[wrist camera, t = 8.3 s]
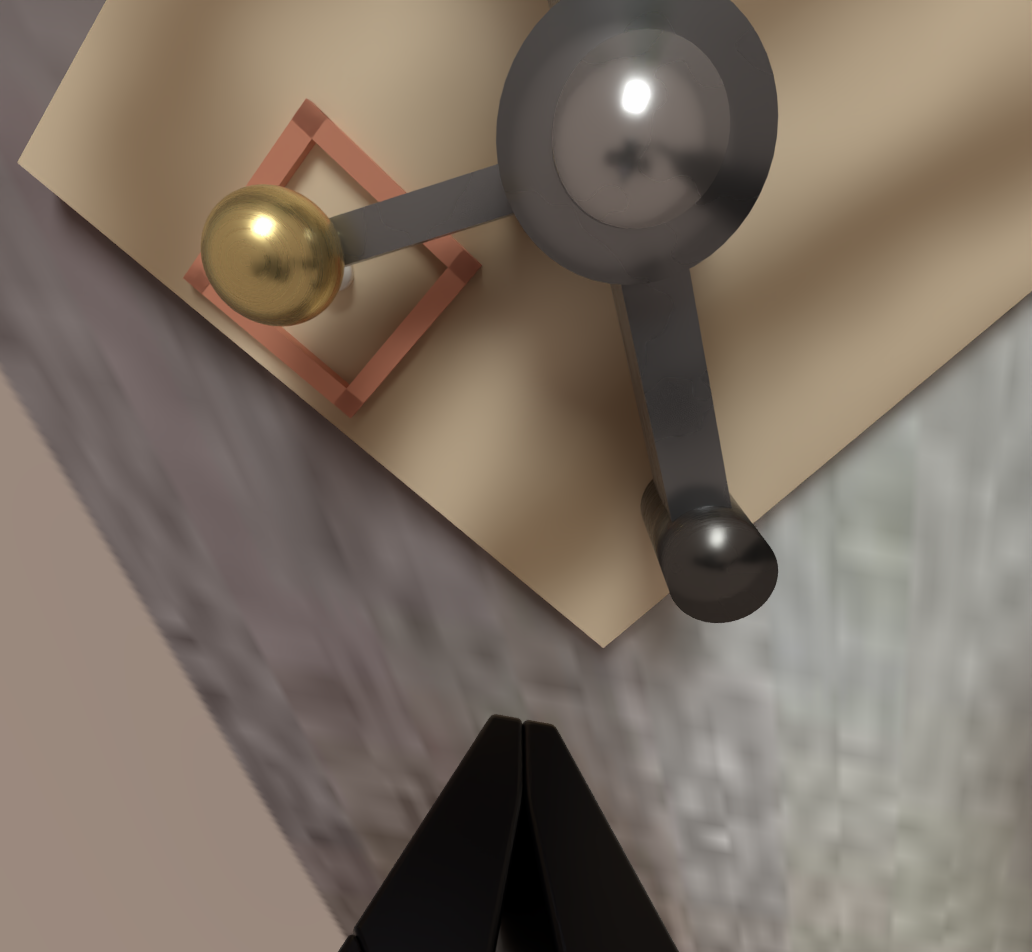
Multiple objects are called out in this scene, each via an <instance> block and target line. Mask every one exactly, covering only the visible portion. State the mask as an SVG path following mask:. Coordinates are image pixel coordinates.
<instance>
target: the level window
mask: <svg viewBox="0 0 1032 952" xmlns="http://www.w3.org/2000/svg"><path fill="white" fill-rule="evenodd" d="M316 143H317V144H318V145H319V146H320V147H321V148H322V149H323V150H324V151H325V152H326V153H327V154H328V155H330V156H331V157H332V158H333V159H334V160H335V161H336V162H337V163H338V164H339V165H340V166H341V167H342V168H343V169H344V170H345V171H346V172H348V173H349V174H350V175H351V176H352V177H353V178H354V179H355V180H356V181H357V182H358V183H359V184H360V185H361V186H362V187H363V188H364V189H366V190H367V191H368V192H369V193H370V194H371V195H372V196H373V197H374V198H375V199H376V200H377V201H378V202H381V201H384V200H387V199H390V198H393V197H396V196H399V195H402V194H406V193H407V192H406V191H405V190H404V189H402V188H401V187H400V186H399V185H398V184H397V183H396V182H395V181H394V180H393V179H392V178H391V177H390V176H389V175H388V174H387V173H386V172H385V171H384V170H383V169H382V168H381V167H380V166H379V165H378V164H376V163H375V162H374V161H373V160H372V159H371V158H370V157H369V156H368V155H367V154H366V153H365V152H364V151H363V150H362V149H361V148H360V147H359V146H358V145H357V144H356V143H355V142H354V141H353V140H352V139H350V138H349V137H348V136H347V135H346V134H345V133H344V132H343V131H342V130H341V129H340V128H339V127H338V126H337V125H336V124H335V123H334V122H333V121H332V120H331V119H330V118H329V117H328V116H327V115H326V114H324V113H323V112H322V111H321V110H320V109H319V108H318V107H317V106H316V105H315V104H314V103H313V102H312V101H310V100H309V99H307V98H306V99H305V100H304V102H303V103H302V105H301V106H300V108H299V109H298V111H297V112H296V113H295V115H294V116H293V118H292V119H291V121H290V122H289V124H288V125H287V127H286V128H285V130H284V131H283V132H282V134H281V135H280V137H279V138H278V140H277V141H276V143H275V144H274V146H273V147H272V148H271V150H270V151H269V153H268V154H267V156H266V157H265V159H264V160H263V162H262V163H261V165H260V166H259V167H258V169H257V170H256V172H255V173H254V175H253V176H252V178H251V179H250V181H249V182H248V184H247V185H246V186H250V185H258V184H268V185H277V186H282V187H285V186H286V185H287V183H288V182H289V180H290V179H291V178H292V176H293V175H294V173H295V172H296V171H297V169H298V168H299V166H300V165H301V163H302V162H303V161H304V159H305V158H306V156H307V155H308V154H309V152H310V151H311V149H312V148H313V147H314V145H315V144H316ZM246 186H245V187H246ZM423 244H424V245H425V246H426V247H427V248H428V249H429V250H430V251H431V252H432V253H433V254H434V255H435V256H436V257H437V258H438V259H440V260H441V261H442V262H443V263H444V264H445V265H446V266H447V267H448V268H447V269H446V270H445V271H444V273H443V274H442V275H441V276H440V277H439V279H438V280H437V281H436V282H435V283H434V284H433V286H432V287H431V288H430V289H429V290H428V292H427V293H426V294H425V295H424V296H423V298H422V299H421V300H420V301H419V302H418V304H417V305H416V306H415V307H414V308H413V310H412V311H411V312H410V313H409V314H408V316H407V317H406V318H405V319H404V320H403V322H402V323H401V324H400V325H399V326H398V327H397V329H396V330H395V331H394V332H393V333H392V335H391V336H390V337H389V338H388V339H387V341H386V342H385V343H384V344H383V345H382V347H381V348H380V349H379V350H378V351H377V353H376V354H375V355H374V356H373V357H372V359H371V360H370V361H369V362H368V363H367V364H366V366H365V367H364V368H363V369H362V370H361V372H360V373H359V374H358V375H357V376H356V378H355V379H354V380H353V381H352V382H351V384H350V385H349V384H348V383H347V382H346V381H345V380H344V379H342V378H341V377H340V376H339V375H338V374H337V373H335V372H334V371H333V370H332V369H331V368H330V367H328V366H327V365H326V364H325V363H324V362H323V361H321V360H320V359H319V358H318V357H317V356H315V355H314V354H313V353H312V352H311V351H310V350H308V349H307V348H306V347H305V346H304V345H303V344H301V343H300V342H299V341H298V340H297V339H296V338H294V337H293V336H292V335H291V334H290V333H288V332H287V331H286V330H285V329H284V328H283V327H279V326H270V325H264V324H260V323H257V322H254V321H252V320H249V319H247V318H245V317H243V316H242V315H240V314H239V313H237V312H235V311H234V310H233V309H231V308H230V307H229V306H228V305H227V304H226V303H225V302H224V301H223V300H222V299H221V298H220V297H219V296H218V294H217V293H216V292H215V290H214V289H213V287H212V286H211V284H210V282H209V280H208V278H207V276H206V273H205V270H204V267H203V263H202V259H201V252H200V254H199V255H198V256H197V258H196V259H195V261H194V262H193V264H192V265H191V267H190V268H189V270H188V271H187V273H186V274H185V275H184V277H183V279H185V280H186V281H187V282H188V283H189V284H191V285H192V286H193V287H194V288H195V289H196V290H198V291H199V292H200V293H201V294H202V295H204V296H205V297H206V298H207V299H208V300H210V301H211V302H212V303H213V304H214V305H216V306H217V307H218V308H219V309H220V310H222V311H223V312H224V313H225V314H226V315H228V316H229V317H230V318H231V319H232V320H234V321H235V322H236V323H237V324H238V325H239V326H241V327H242V328H243V329H244V330H245V331H247V332H248V333H249V334H250V335H251V336H253V337H254V338H255V339H256V340H257V341H259V342H260V343H261V344H262V345H263V346H265V347H266V348H267V349H268V350H269V351H271V352H272V353H273V354H274V355H275V356H276V357H278V358H279V359H280V360H281V361H282V362H284V363H285V364H286V365H287V366H288V367H290V368H291V369H292V370H293V371H294V372H296V373H297V374H298V375H299V376H300V377H302V378H303V379H304V380H305V381H306V382H308V383H309V384H310V385H311V386H312V387H313V388H315V389H316V390H317V391H318V392H319V393H321V394H322V395H323V396H324V397H325V398H327V399H328V400H329V401H330V402H331V403H333V404H334V405H335V406H336V407H337V408H339V409H340V410H341V411H342V412H343V413H345V414H346V415H347V416H348V417H349V418H352V417H353V416H354V415H355V413H356V412H357V411H358V410H359V409H360V408H361V406H362V405H363V404H364V403H365V402H366V401H367V399H368V398H369V397H370V396H371V395H372V394H373V392H374V391H375V390H376V389H377V388H378V387H379V385H380V384H381V383H382V382H383V381H384V380H385V378H386V377H387V376H388V375H389V374H390V373H391V371H392V370H393V369H394V368H395V367H396V366H397V364H398V363H399V362H400V361H401V360H402V359H403V357H404V356H405V355H406V354H407V353H408V352H409V350H410V349H411V348H412V347H413V346H414V345H415V343H416V342H417V341H418V340H419V339H420V338H421V336H422V335H423V334H424V333H425V332H426V331H427V329H428V328H429V327H430V326H431V325H432V324H433V322H434V321H435V320H436V319H437V318H438V317H439V315H440V314H441V313H442V312H443V311H444V310H445V308H446V307H447V306H448V305H449V304H450V303H451V301H452V300H453V299H454V298H455V297H456V296H457V294H458V293H459V292H460V291H461V290H462V289H463V287H464V286H465V285H466V284H467V283H468V282H469V280H470V279H471V278H472V277H473V276H474V275H475V273H476V272H477V271H478V270H479V269H480V268H481V266H482V264H480V263H479V262H478V261H477V260H476V259H475V258H474V257H473V256H472V255H471V254H470V253H469V252H468V251H467V250H466V249H465V248H464V247H463V246H462V245H461V244H460V243H459V242H458V241H457V240H456V239H454V238H453V237H452V236H451V235H448V236H445V237H442V238H438V239H435V240H432V241H429V242H425V243H423ZM353 277H354V269H353V265H351V266H347V267H344V276H343V280H342V284H341V287H340V289H339V291H341V290H344V289H346V288H347V287H349V285H350V284H351V283H352V281H353Z"/></svg>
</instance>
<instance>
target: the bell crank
mask: <svg viewBox="0 0 1032 952" xmlns="http://www.w3.org/2000/svg"><path fill="white" fill-rule="evenodd" d="M548 4H549V9H550V10H549V11H548V12H547V13H546V14H545V15H544V16H543V17H542V18H541V20H540V21H539V22H538V23H537V24H536V25H535V27H534V28H533V29H532V31H531V32H530V33H529V35H528V36H527V38H526V39H525V40H524V42H523V44H522V46H521V47H520V49H519V51H518V53H517V55H516V57H515V58H514V60H513V63H512V65H511V68H510V70H509V72H508V75H507V77H506V80H505V83H504V87H503V91H502V94H501V98H500V103H499V109H498V116H497V125H496V150H497V162H498V164H496V165H493V166H490V167H487V168H484V169H480V170H477V171H474V172H471V173H468V174H465V175H462V176H459V177H455V178H452V179H449V180H446V181H443V182H440V183H437V184H434V185H430V186H427V187H424V188H421V189H418V190H415V191H412V192H409V193H406V194H402V195H399V196H396V197H393V198H390V199H387V200H384V201H381V202H377V203H374V204H371V205H368V206H365V207H362V208H359V209H356V210H352V211H349V212H346V213H343V214H340V215H337V216H334V217H331V218H328V216H327V215H326V214H325V213H324V212H323V211H322V210H321V208H320V207H318V206H317V205H316V204H315V203H314V202H313V201H311V200H310V199H308V198H307V197H305V196H304V195H302V194H300V193H298V192H296V191H294V190H291V189H288V188H285V187H282V186H277V185H268V184H258V185H250V186H246V187H243V188H240V189H238V190H235V191H233V192H231V193H230V194H228V195H227V196H225V197H224V198H223V199H222V200H220V201H219V202H218V203H217V204H216V206H215V207H214V208H213V209H212V210H211V212H210V214H209V215H208V217H207V219H206V222H205V224H204V227H203V231H202V236H201V259H202V263H203V267H204V270H205V273H206V276H207V278H208V280H209V282H210V284H211V286H212V287H213V289H214V290H215V292H216V293H217V294H218V296H219V297H220V298H221V299H222V300H223V301H224V302H225V303H226V304H227V305H228V306H229V307H230V308H231V309H233V310H234V311H235V312H237V313H239V314H240V315H242V316H243V317H245V318H247V319H249V320H252V321H254V322H257V323H260V324H264V325H270V326H279V327H284V326H293V325H298V324H302V323H304V322H307V321H309V320H311V319H313V318H315V317H316V316H318V315H319V314H321V313H322V312H323V311H325V310H326V308H327V307H328V306H329V305H330V304H331V303H332V301H333V300H334V299H335V297H336V295H337V293H338V291H339V289H340V287H341V284H342V280H343V276H344V267H347V266H351V265H354V264H357V263H360V262H364V261H367V260H370V259H373V258H377V257H380V256H383V255H386V254H390V253H393V252H396V251H399V250H403V249H406V248H409V247H412V246H416V245H419V244H422V243H425V242H429V241H432V240H435V239H438V238H442V237H445V236H448V235H451V234H454V233H458V232H461V231H464V230H467V229H471V228H474V227H477V226H480V225H484V224H487V223H490V222H493V221H497V220H500V219H503V218H506V217H510V216H513V215H515V217H516V218H517V220H518V222H519V223H520V225H521V226H522V228H523V229H524V231H525V232H526V234H527V235H528V236H529V237H530V238H531V240H532V241H533V242H534V243H535V244H536V246H537V247H538V248H540V249H541V250H542V251H543V252H544V253H545V254H546V255H547V256H548V257H549V258H551V259H552V260H554V261H555V262H557V263H558V264H559V265H561V266H562V267H564V268H566V269H568V270H570V271H572V272H574V273H575V274H577V275H580V276H583V277H585V278H588V279H591V280H594V281H599V282H604V283H609V284H610V285H611V290H612V295H613V299H614V304H615V308H616V313H617V317H618V322H619V326H620V331H621V335H622V340H623V344H624V349H625V353H626V358H627V363H628V367H629V372H630V376H631V381H632V385H633V390H634V394H635V399H636V403H637V408H638V412H639V417H640V422H641V426H642V431H643V435H644V440H645V444H646V449H647V453H648V458H649V462H650V467H651V471H652V476H653V479H652V480H651V481H650V482H649V484H648V485H647V487H646V488H645V490H644V492H643V495H642V498H641V515H642V518H643V521H644V524H645V527H646V529H647V532H648V535H649V538H650V540H651V543H652V546H653V548H654V551H655V554H656V557H657V559H658V562H659V565H660V567H661V570H662V573H663V576H664V578H665V581H666V584H667V587H668V589H669V592H670V595H671V597H672V599H673V601H674V602H675V603H676V605H677V606H678V607H679V608H680V609H681V610H682V611H683V612H684V613H686V614H687V615H689V616H691V617H693V618H695V619H697V620H701V621H704V622H710V623H725V622H731V621H735V620H738V619H741V618H744V617H746V616H748V615H750V614H751V613H753V612H754V611H756V610H757V609H758V608H760V607H761V606H762V605H763V604H764V603H765V602H766V601H767V599H768V598H769V597H770V595H771V594H772V592H773V590H774V588H775V585H776V582H777V577H778V564H777V560H776V557H775V555H774V552H773V551H772V549H771V548H770V546H769V545H768V544H767V542H766V541H765V540H764V538H763V537H762V536H761V534H760V533H759V531H758V530H757V529H756V527H755V526H754V525H753V523H752V522H751V521H750V519H749V518H748V517H747V515H746V514H745V513H744V511H743V510H742V509H741V507H740V506H739V505H738V503H737V502H736V501H735V499H734V498H733V497H732V495H731V494H730V493H729V490H728V484H727V478H726V473H725V467H724V461H723V456H722V450H721V444H720V439H719V433H718V427H717V422H716V416H715V410H714V405H713V399H712V393H711V388H710V382H709V376H708V371H707V365H706V359H705V354H704V348H703V342H702V337H701V331H700V325H699V320H698V314H697V308H696V303H695V297H694V291H693V286H692V280H691V274H690V268H692V267H694V266H696V265H697V264H699V263H700V262H702V261H703V260H704V259H706V258H707V257H709V256H710V255H712V254H713V253H714V252H715V251H716V250H717V249H719V248H720V247H721V246H722V245H723V244H724V243H725V242H726V241H727V240H728V239H729V238H730V237H731V236H732V235H733V234H734V233H735V232H736V230H737V229H738V228H739V227H740V225H741V224H742V223H743V221H744V220H745V218H746V217H747V216H748V214H749V213H750V211H751V209H752V208H753V206H754V204H755V202H756V201H757V199H758V197H759V195H760V193H761V191H762V188H763V186H764V184H765V181H766V179H767V177H768V173H769V170H770V167H771V163H772V160H773V156H774V151H775V145H776V140H777V130H778V100H777V91H776V85H775V80H774V74H773V71H772V68H771V65H770V61H769V58H768V55H767V53H766V51H765V48H764V46H763V44H762V42H761V40H760V38H759V36H758V34H757V33H756V31H755V30H754V28H753V26H752V25H751V23H750V22H749V20H748V19H747V18H746V16H745V15H744V14H743V13H742V12H741V11H740V10H739V9H738V7H737V6H736V5H735V4H734V3H733V2H732V1H730V0H548Z"/></svg>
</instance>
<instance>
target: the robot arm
mask: <svg viewBox="0 0 1032 952" xmlns="http://www.w3.org/2000/svg"><path fill="white" fill-rule="evenodd" d="M338 952H679V951H678V949H677V948H676V946H675V944H674V942H673V940H672V938H671V937H670V935H669V933H668V931H667V929H666V927H665V926H664V924H663V922H662V920H661V918H660V917H659V915H658V913H657V911H656V909H655V907H654V906H653V904H652V902H651V900H650V898H649V896H648V895H647V893H646V891H645V889H644V887H643V885H642V884H641V882H640V880H639V878H638V876H637V874H636V873H635V871H634V869H633V867H632V865H631V864H630V862H629V860H628V858H627V856H626V854H625V853H624V851H623V849H622V847H621V845H620V843H619V842H618V840H617V838H616V836H615V834H614V832H613V831H612V829H611V827H610V825H609V823H608V821H607V820H606V818H605V816H604V814H603V812H602V811H601V809H600V807H599V805H598V803H597V801H596V800H595V798H594V796H593V794H592V792H591V790H590V789H589V787H588V785H587V783H586V781H585V779H584V778H583V776H582V774H581V772H580V770H579V768H578V767H577V765H576V763H575V761H574V759H573V758H572V756H571V754H570V752H569V750H568V748H567V747H566V745H565V743H564V741H563V739H562V737H561V736H560V734H559V732H558V730H557V729H556V727H555V726H554V725H552V724H548V723H542V722H537V721H531V720H527V721H525V722H524V723H523V724H522V722H521V720H520V719H518V718H514V717H508V716H503V715H497V714H494V715H492V716H491V717H490V718H489V719H488V721H487V722H486V724H485V725H484V727H483V728H482V730H481V731H480V733H479V735H478V736H477V738H476V739H475V741H474V742H473V744H472V745H471V747H470V749H469V750H468V752H467V753H466V755H465V756H464V758H463V759H462V761H461V763H460V764H459V766H458V767H457V769H456V770H455V772H454V773H453V775H452V776H451V778H450V780H449V781H448V783H447V784H446V786H445V787H444V789H443V790H442V792H441V794H440V795H439V797H438V798H437V800H436V801H435V803H434V804H433V806H432V808H431V809H430V811H429V812H428V814H427V815H426V817H425V818H424V820H423V822H422V823H421V825H420V826H419V828H418V829H417V831H416V832H415V834H414V836H413V837H412V839H411V840H410V842H409V843H408V845H407V846H406V848H405V850H404V851H403V853H402V854H401V856H400V857H399V859H398V860H397V862H396V864H395V865H394V867H393V868H392V870H391V871H390V873H389V874H388V876H387V878H386V879H385V881H384V882H383V884H382V885H381V887H380V888H379V890H378V891H377V893H376V895H375V896H374V898H373V899H372V901H371V902H370V904H369V905H368V907H367V909H366V910H365V912H364V913H363V915H362V916H361V918H360V919H359V921H358V923H357V924H356V926H355V927H354V930H353V935H349V936H348V937H347V939H346V940H345V942H344V944H343V945H342V947H341V948H340V950H339V951H338Z"/></svg>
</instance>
